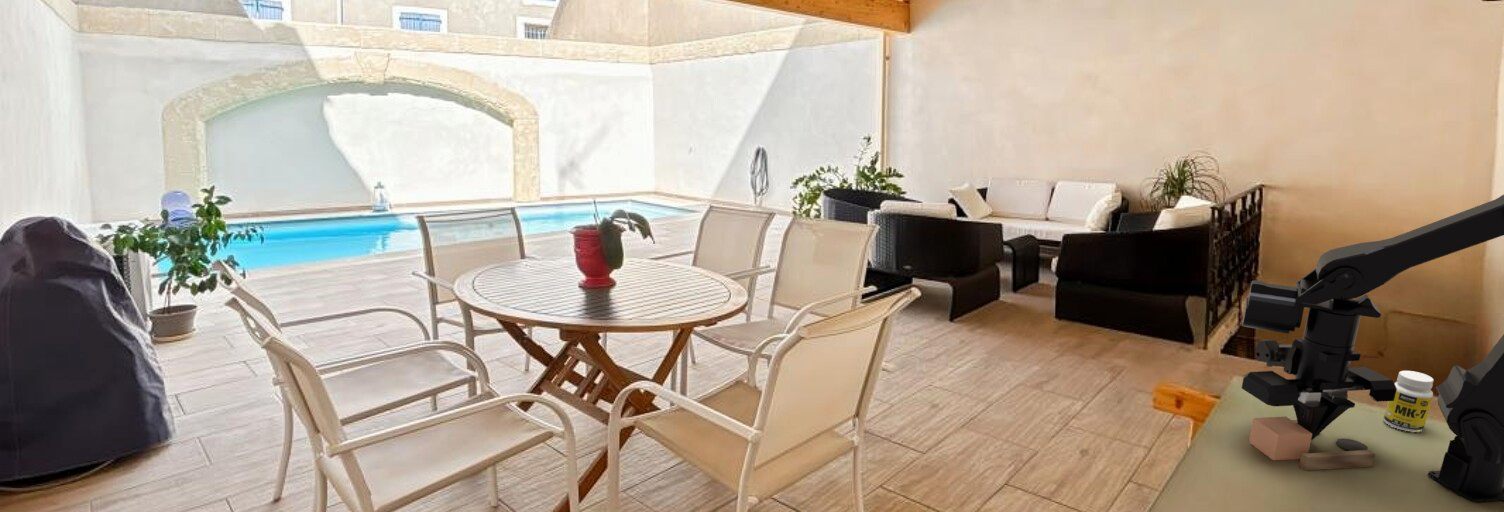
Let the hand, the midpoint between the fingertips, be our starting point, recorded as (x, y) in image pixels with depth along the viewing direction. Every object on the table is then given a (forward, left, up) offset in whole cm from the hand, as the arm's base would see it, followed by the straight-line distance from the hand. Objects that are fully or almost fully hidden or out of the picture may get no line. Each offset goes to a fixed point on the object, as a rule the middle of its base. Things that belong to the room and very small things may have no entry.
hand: (1306, 439), depth 108 cm
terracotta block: (+4, 0, -2) cm, 4 cm away
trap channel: (-2, 0, -2) cm, 3 cm away
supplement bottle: (-20, -5, -2) cm, 21 cm away
